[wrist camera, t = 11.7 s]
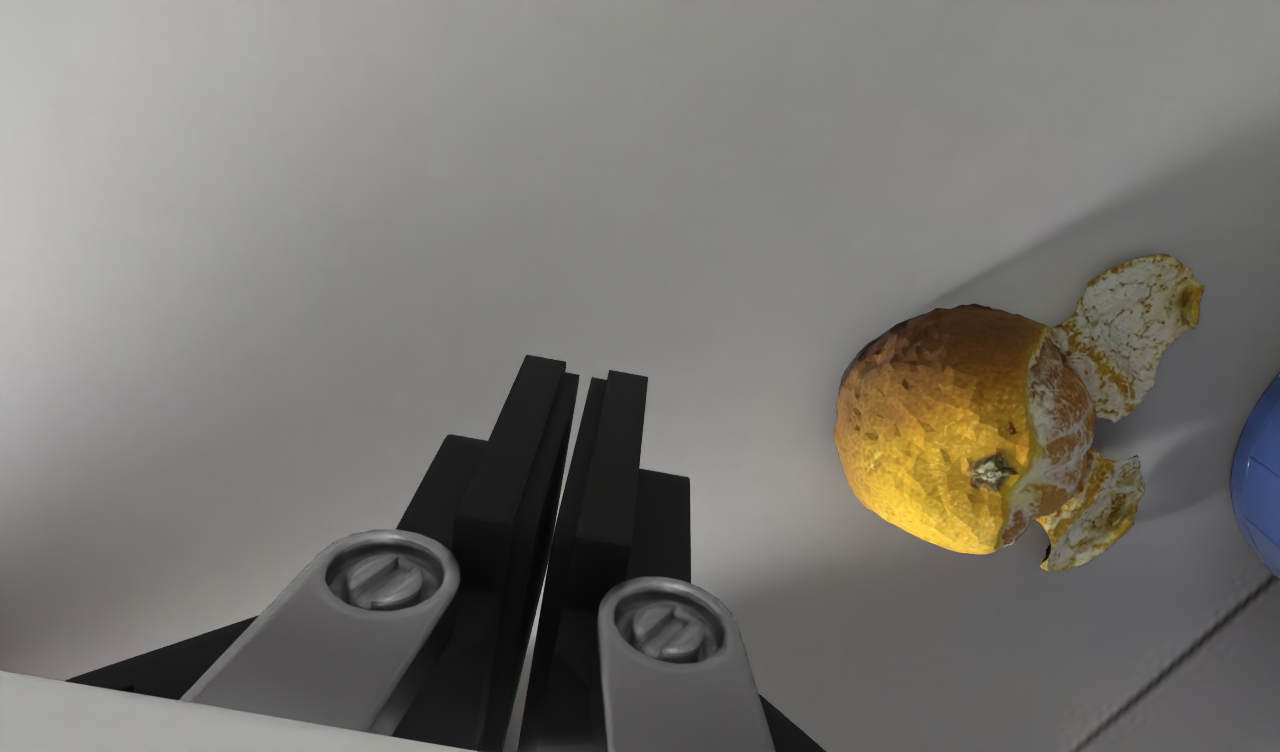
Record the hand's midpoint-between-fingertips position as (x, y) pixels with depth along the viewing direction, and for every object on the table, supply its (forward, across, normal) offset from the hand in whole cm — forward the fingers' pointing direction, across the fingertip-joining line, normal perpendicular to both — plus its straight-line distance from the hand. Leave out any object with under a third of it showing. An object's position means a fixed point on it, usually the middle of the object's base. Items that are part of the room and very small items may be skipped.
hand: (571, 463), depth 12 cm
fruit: (+10, -11, +2) cm, 15 cm away
